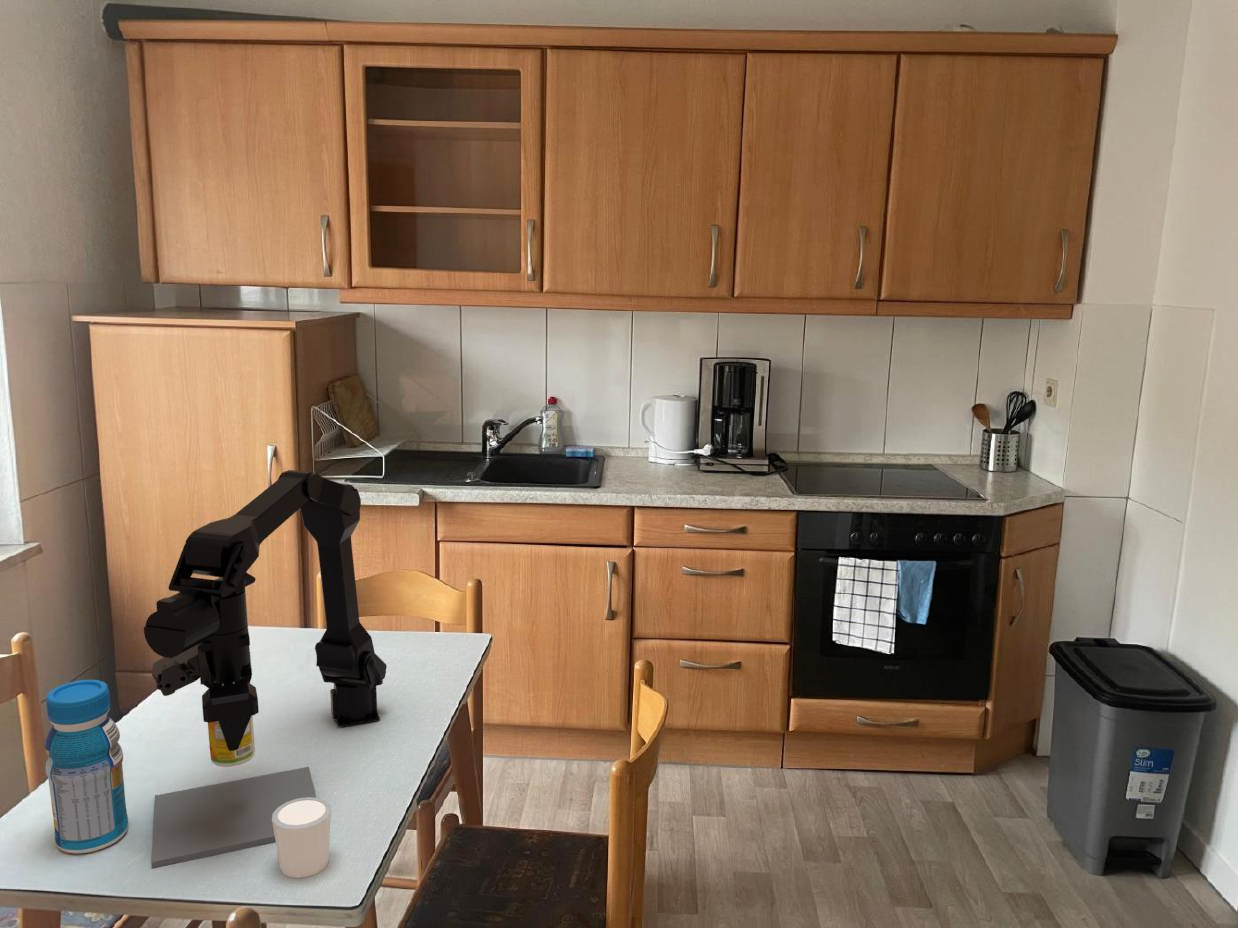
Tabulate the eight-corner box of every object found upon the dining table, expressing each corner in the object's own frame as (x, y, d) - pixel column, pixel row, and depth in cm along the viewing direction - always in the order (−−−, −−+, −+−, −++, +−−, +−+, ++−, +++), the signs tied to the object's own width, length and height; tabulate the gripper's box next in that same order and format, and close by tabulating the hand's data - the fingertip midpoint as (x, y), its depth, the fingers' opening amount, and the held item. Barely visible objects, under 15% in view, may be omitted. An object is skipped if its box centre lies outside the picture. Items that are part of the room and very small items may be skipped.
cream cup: (279, 887, 112) (276, 833, 111) (271, 855, 118) (267, 804, 117) (339, 871, 115) (336, 818, 114) (328, 840, 121) (325, 791, 120)
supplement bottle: (218, 747, 127) (213, 679, 125) (260, 746, 128) (255, 678, 126) (204, 768, 122) (199, 698, 120) (248, 767, 122) (243, 697, 120)
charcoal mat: (309, 771, 138) (308, 766, 138) (323, 831, 123) (323, 825, 123) (155, 800, 130) (154, 795, 130) (151, 868, 115) (151, 862, 115)
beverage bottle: (78, 864, 116) (61, 711, 112) (40, 841, 120) (23, 694, 116) (144, 830, 123) (130, 685, 119) (106, 810, 127) (92, 670, 123)
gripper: (155, 610, 126) (164, 719, 129) (150, 665, 110) (162, 788, 113) (245, 599, 131) (252, 705, 134) (254, 650, 114) (262, 769, 117)
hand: (232, 739), depth 124 cm, fingers closed on supplement bottle, 5 cm apart
